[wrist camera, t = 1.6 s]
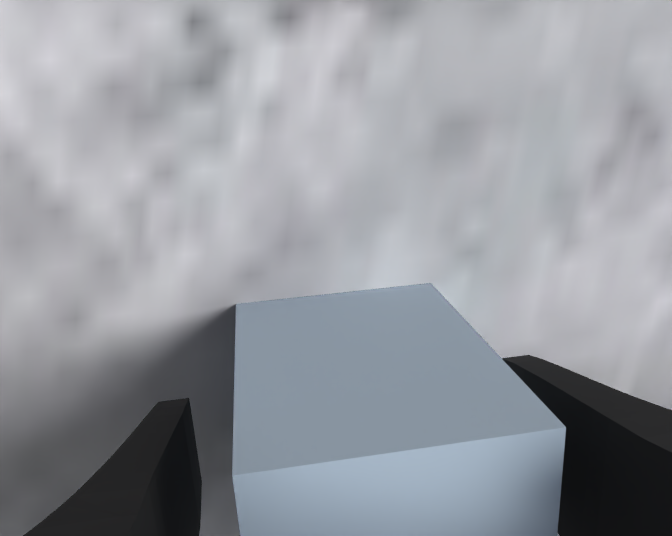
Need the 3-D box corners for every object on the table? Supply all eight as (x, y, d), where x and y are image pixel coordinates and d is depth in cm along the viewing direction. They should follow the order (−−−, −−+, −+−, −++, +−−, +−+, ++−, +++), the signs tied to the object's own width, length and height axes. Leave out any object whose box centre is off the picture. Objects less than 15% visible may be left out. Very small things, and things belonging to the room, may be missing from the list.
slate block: (430, 282, 14) (566, 427, 8) (430, 446, 15) (546, 668, 9) (235, 303, 13) (232, 475, 7) (255, 472, 14) (265, 725, 9)
